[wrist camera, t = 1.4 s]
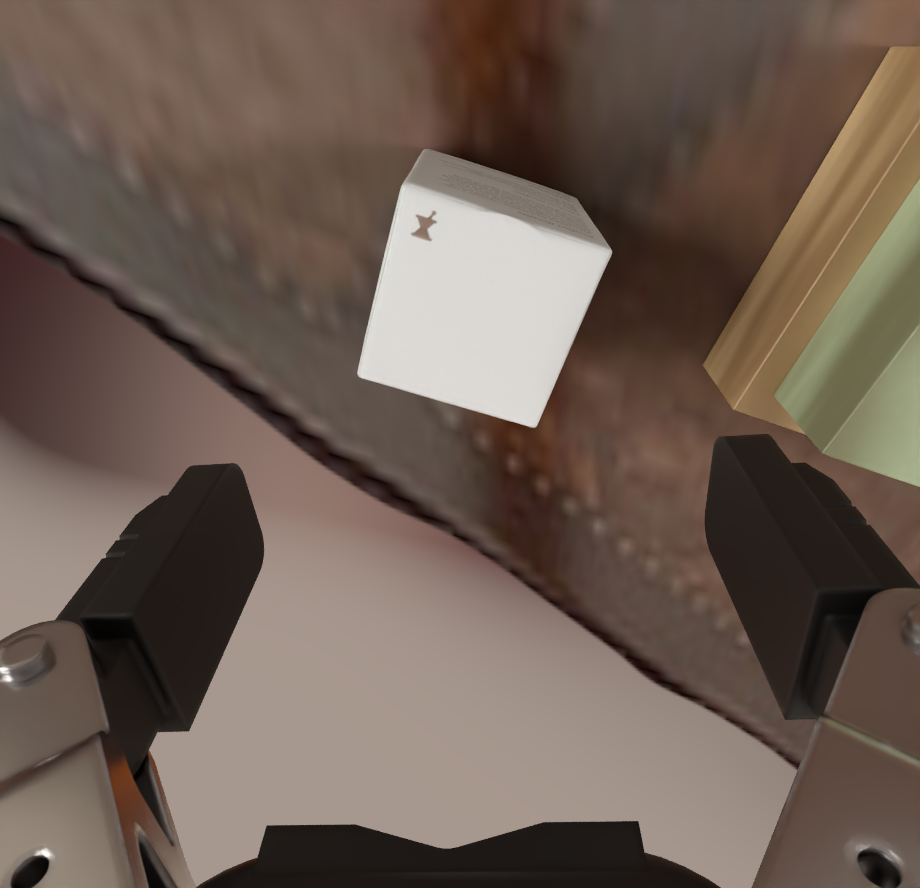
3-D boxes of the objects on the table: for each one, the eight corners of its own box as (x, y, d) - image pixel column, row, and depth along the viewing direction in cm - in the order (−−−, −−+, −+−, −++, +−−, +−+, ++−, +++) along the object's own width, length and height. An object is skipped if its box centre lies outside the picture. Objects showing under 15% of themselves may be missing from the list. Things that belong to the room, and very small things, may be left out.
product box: (382, 300, 26) (349, 378, 20) (423, 142, 23) (399, 175, 17) (526, 345, 27) (537, 433, 21) (583, 197, 24) (618, 248, 17)
